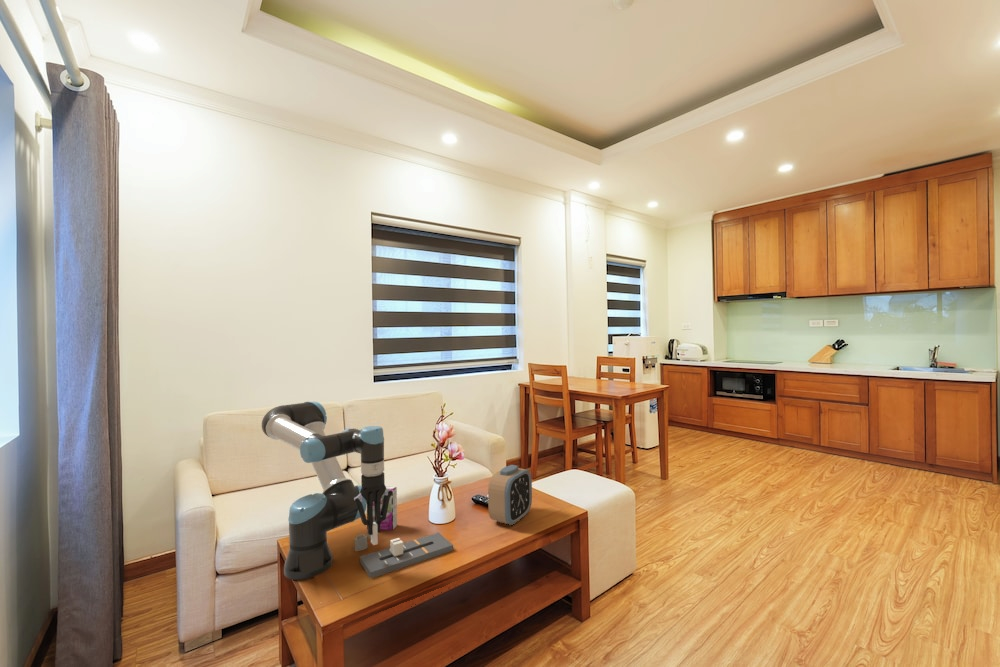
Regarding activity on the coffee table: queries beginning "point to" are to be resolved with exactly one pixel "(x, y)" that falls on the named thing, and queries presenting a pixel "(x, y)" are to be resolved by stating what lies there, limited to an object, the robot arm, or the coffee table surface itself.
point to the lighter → (361, 542)
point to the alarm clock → (510, 494)
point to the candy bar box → (388, 511)
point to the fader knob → (396, 547)
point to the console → (405, 555)
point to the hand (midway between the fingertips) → (374, 542)
